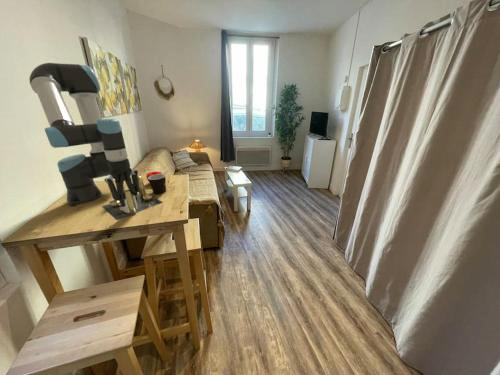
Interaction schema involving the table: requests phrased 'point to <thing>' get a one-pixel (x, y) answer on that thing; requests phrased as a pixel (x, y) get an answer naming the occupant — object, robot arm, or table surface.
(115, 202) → the knob back
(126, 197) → the knob front
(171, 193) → the table surface
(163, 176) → the coffee mug
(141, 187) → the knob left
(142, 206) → the levelling plate
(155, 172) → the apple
